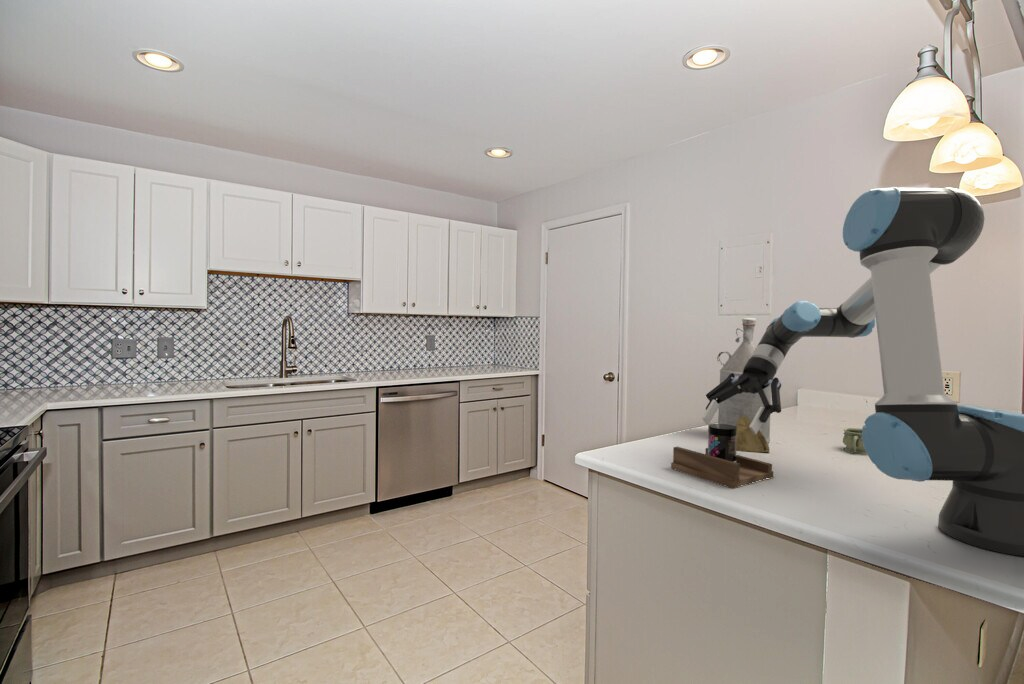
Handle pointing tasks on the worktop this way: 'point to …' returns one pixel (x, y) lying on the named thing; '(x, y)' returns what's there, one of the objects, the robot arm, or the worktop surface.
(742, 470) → the walnut rack
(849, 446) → the vessel
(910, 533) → the worktop surface
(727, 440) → the supplement container
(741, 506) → the worktop surface
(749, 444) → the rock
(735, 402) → the grey jug
